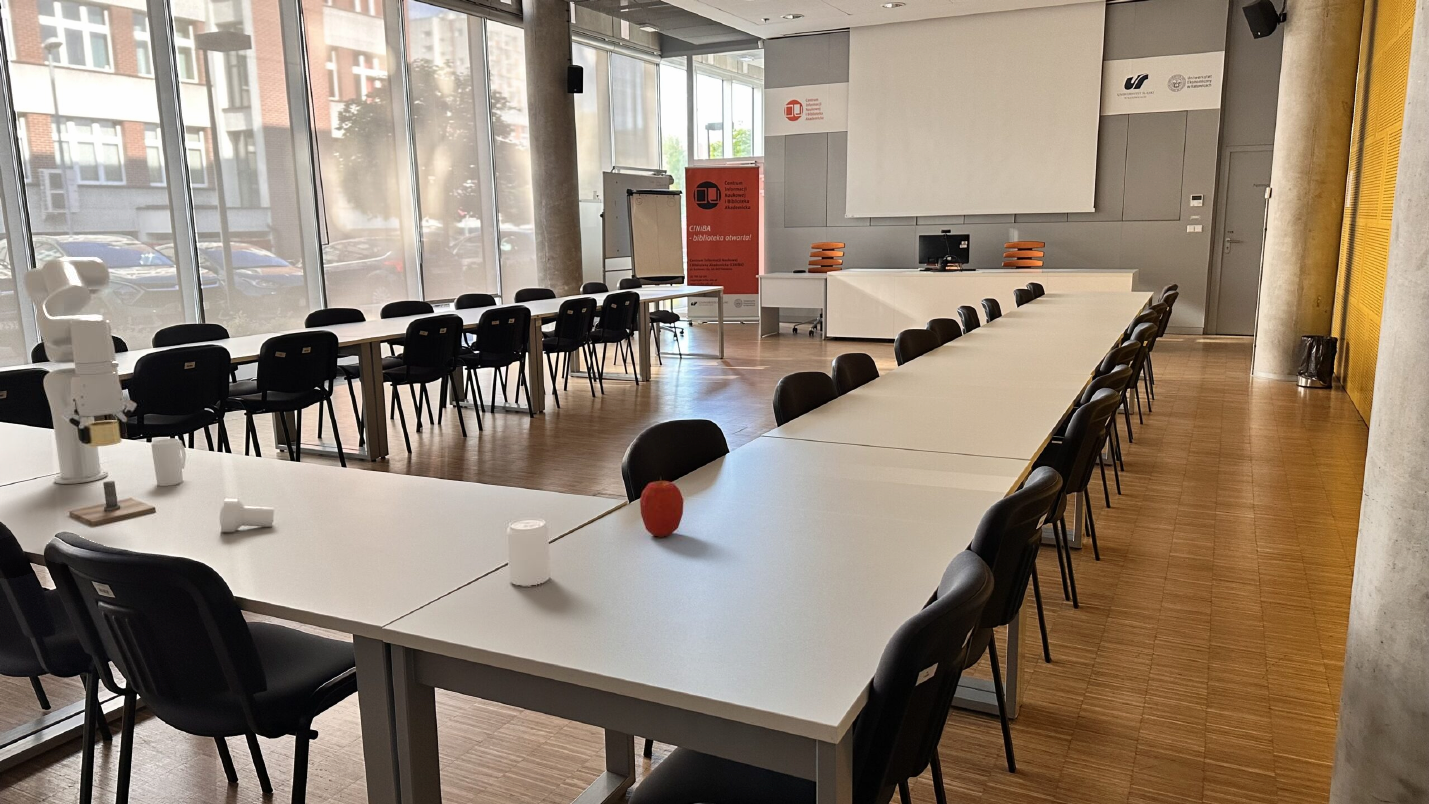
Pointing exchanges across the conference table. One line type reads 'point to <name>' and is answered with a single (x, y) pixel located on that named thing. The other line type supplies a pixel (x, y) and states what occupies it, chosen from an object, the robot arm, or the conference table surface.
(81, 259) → the robot arm
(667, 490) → the apple
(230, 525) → the spotlight
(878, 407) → the conference table surface
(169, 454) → the mug
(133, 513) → the post block
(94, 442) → the ring
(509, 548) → the beverage can
